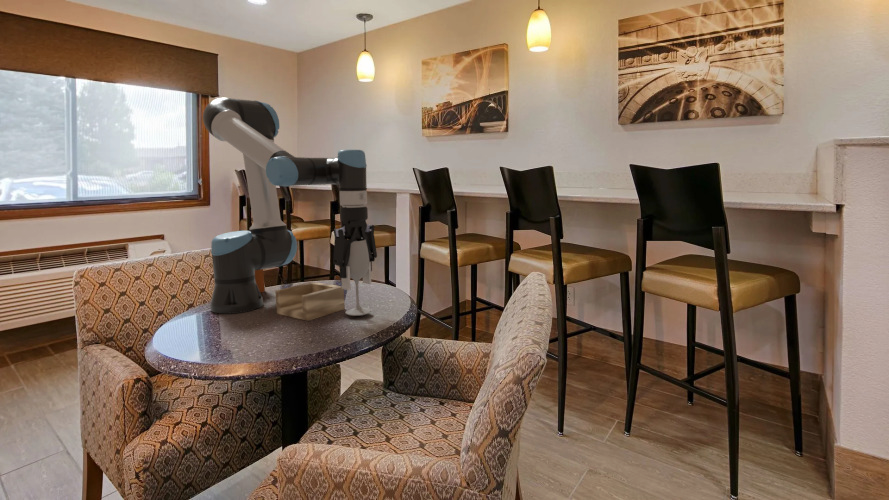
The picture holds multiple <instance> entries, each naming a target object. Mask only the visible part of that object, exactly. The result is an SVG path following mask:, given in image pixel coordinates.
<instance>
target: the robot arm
mask: <svg viewBox="0 0 889 500" xmlns="http://www.w3.org/2000/svg"><path fill="white" fill-rule="evenodd" d="M202 122H203V125H204V127H205V130H207V131H208V133H209V134H211V135H212V136H213V137H214V138H216V139H217V140H219V141H220V142H226V143H228V144H229V145H231V146H232V147H233V148H235V149H236V150H238V151H239V152H240V153H242V156H243V164H244V170H245V171H244V172H245V176H246V182H247V183H246V185H247V189H248V190H247V191H248V195H249V196H248V197H249V201H250V208H251V216H252V224H251V226H250V227H249V230H236V231H229V232H225V233H221V234H218V235H216V236H215V237H214V238H212V240H211V243H210V244H211V248H210V249H211V250H210V254H211V257H212V259H211V260H212V268H213V269H212V270H213V278H214V287H213V292H212V294H211V300H210V303H209V304H210V311H211V312H212V313H216V314H238V313H246V312H249V311H253V310H257V309H259V308H261V307H263V305H264V299H263V296H262V293H260V291H259V289H258V286H257V284H256V282H255V270H261V269H263V270H266V269H270V268H271V269H272V268H279V267H282V266H285V265H288V264H290V263H291V262H292V261H293V259H294V258H295V257H296V255H297V249H298V244H297V243H298V242H297V238H296V236H295V235H294V232H293V231H291V230H289V229H288V227H287V224H286V223H285V222H284V221H282V218H281V212H280V206H279V199H278V197H279V196H278V191H277V187H285V188H286V187H292V186H293V187H294V186H295V187H296V186H298V187H299V186H317V185H319V186H321V185H324V186H325V185H326V186H327V185H338V186H339V188H338V189H339V190H338V191H339V205H340V206H341V207H340V208H339V212H340V213H339V215H340V220H341V222H342V225H341V227H340V228H334V229H333V234H334V241H333V242H334V244H333V245H334V246H333V257H332V258H333V260H332V264H333V266H337V267H339V277H340V279H341V286H342V289H344V290H347V291H350V290H351V286H352V285H351V277H350V266H347V265H348V261H349V257H350V248H351V243H352V242H353V241H355V240H357V241H363V240H366V244H367V248H368V254H369V269H368V271H367V273H366V274H365V275H364V276H363V277H362V283H363V284H367V285H371V284H372V271H373V263H372V262H375V260H376V258H377V257H378V253H377V245H376V239H375V225H374V224H367V220H368V219H369V217H368V216H369V213H368V212H369V211H368V207H367V206H366V205H368V189H367V188H368V186H367V184H368V183H367V167H368V166H367V159H366V153H365V151H364V150H362V149H339V150H338V152H337V157H300V156H295V155H293V154H291V153H289V152H288V151H287V150H284V149H283V148H282V147H281V146H279V145H278V144H276V143H275V138H276V137H277V136H278V134H279V130H280V120H279V116H278V113H277V112H276V110H275V109H274V107H273V106H272V105H270V104H269V103H267V102H264V101H263V102H262V101H258V100H250V99H249V100H248V99H241V98H240V99H239V98H232V97H218V98H216V99H213V100H211V101H210V102H209V103H208V104H207V105H206V106H205V108H204V110H203V114H202ZM343 261H344V262H343Z"/></svg>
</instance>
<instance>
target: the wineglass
mask: <svg viewBox="0 0 889 500" xmlns="http://www.w3.org/2000/svg"><path fill="white" fill-rule="evenodd" d="M343 262H344V261H343ZM347 266H350V279H352V280H353V281H354V283H355V300H356V305H355V307H353V308H349V309H346V310H345V314H346V315H347V316H353V317H355V316H364V315H368V314H370V313H371V312H372V311H371V308H369V307H368V308H367V307H361V305H360V296H359V295H360V294H359V281H360V280H361V279H363V276H364V275H365V274H366V273H367V271H368V269H369V254H368V248H367V244H366V240H363V241H357V240H355V241H353V242H352V243H351V248H350V257H349V261H348V265H347Z"/></svg>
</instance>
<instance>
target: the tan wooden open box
mask: <svg viewBox="0 0 889 500" xmlns="http://www.w3.org/2000/svg"><path fill="white" fill-rule="evenodd" d="M274 291H275V292H274V293H275V305H276V306H275V307H276V314H277V315H281V316H285V317H290V318H294V319H299V320H303V321H309V322H310V321H312V320H314V319H319V318H321V317H325V316H328V315H331V314H334V313H337V312H340V311H344V310H345V309H346V308H345V307H346V305H345V302H346V301H345V289H342V285H341V286H340V285H336V284H335V285H334V284H328V283H322V282H316V281H310V282H306V283H302V284H297V285H293V286H290V287H285V288H281V289H277V290H274Z"/></svg>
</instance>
